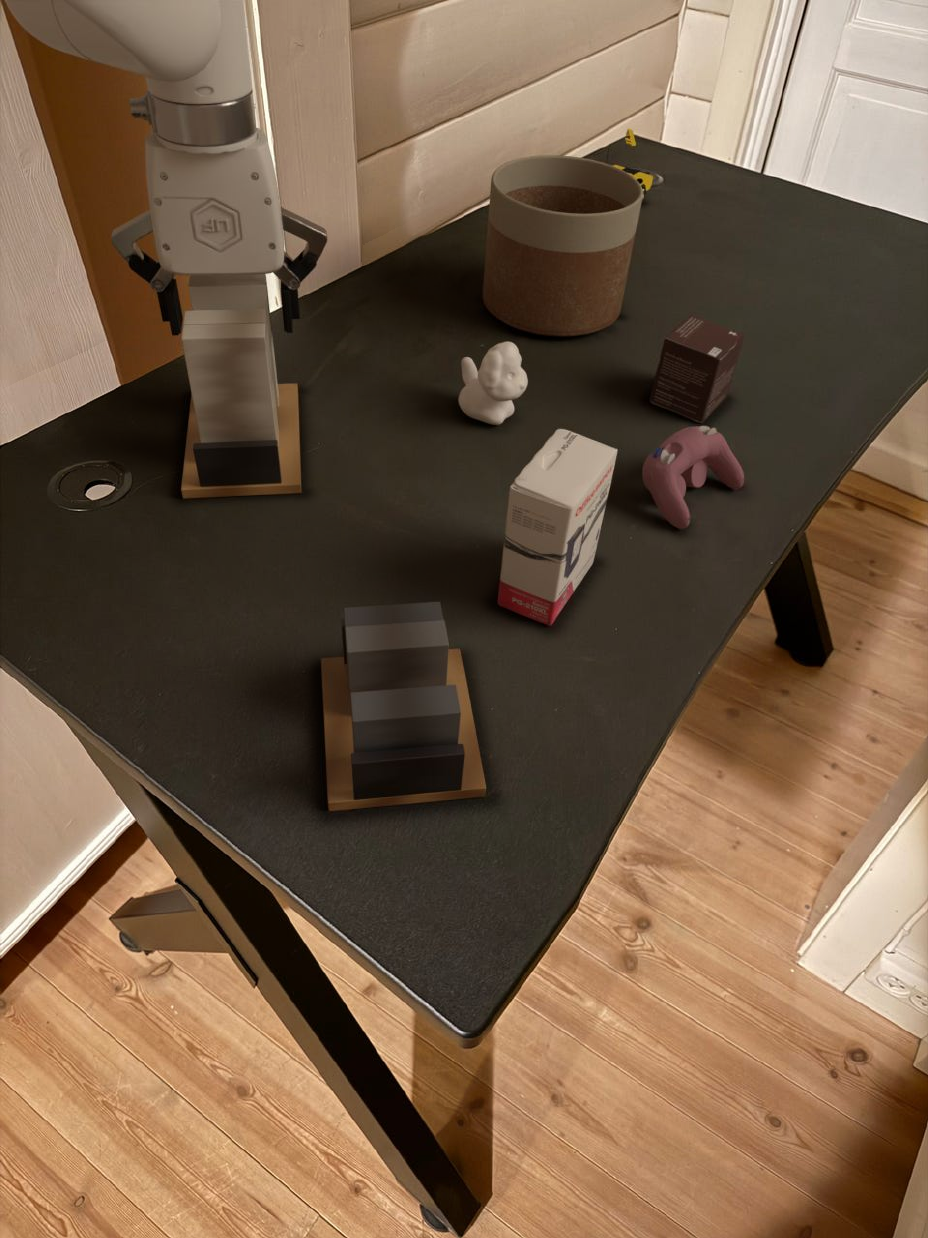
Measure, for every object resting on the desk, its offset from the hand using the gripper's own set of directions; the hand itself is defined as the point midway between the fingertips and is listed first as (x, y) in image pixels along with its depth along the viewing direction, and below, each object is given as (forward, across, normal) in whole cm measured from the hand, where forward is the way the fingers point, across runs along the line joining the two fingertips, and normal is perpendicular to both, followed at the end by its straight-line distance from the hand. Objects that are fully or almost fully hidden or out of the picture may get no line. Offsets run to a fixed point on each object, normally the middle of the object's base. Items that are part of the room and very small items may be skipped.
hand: (233, 326), depth 80 cm
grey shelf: (+9, +11, -39) cm, 41 cm away
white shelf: (+9, 0, -5) cm, 10 cm away
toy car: (+9, +49, +48) cm, 69 cm away
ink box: (+9, +24, -26) cm, 36 cm away
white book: (+8, 0, 0) cm, 8 cm away
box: (+9, +44, -1) cm, 45 cm away
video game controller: (+9, +39, -16) cm, 43 cm away
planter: (+9, +34, +19) cm, 40 cm away
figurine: (+9, +23, -2) cm, 25 cm away
